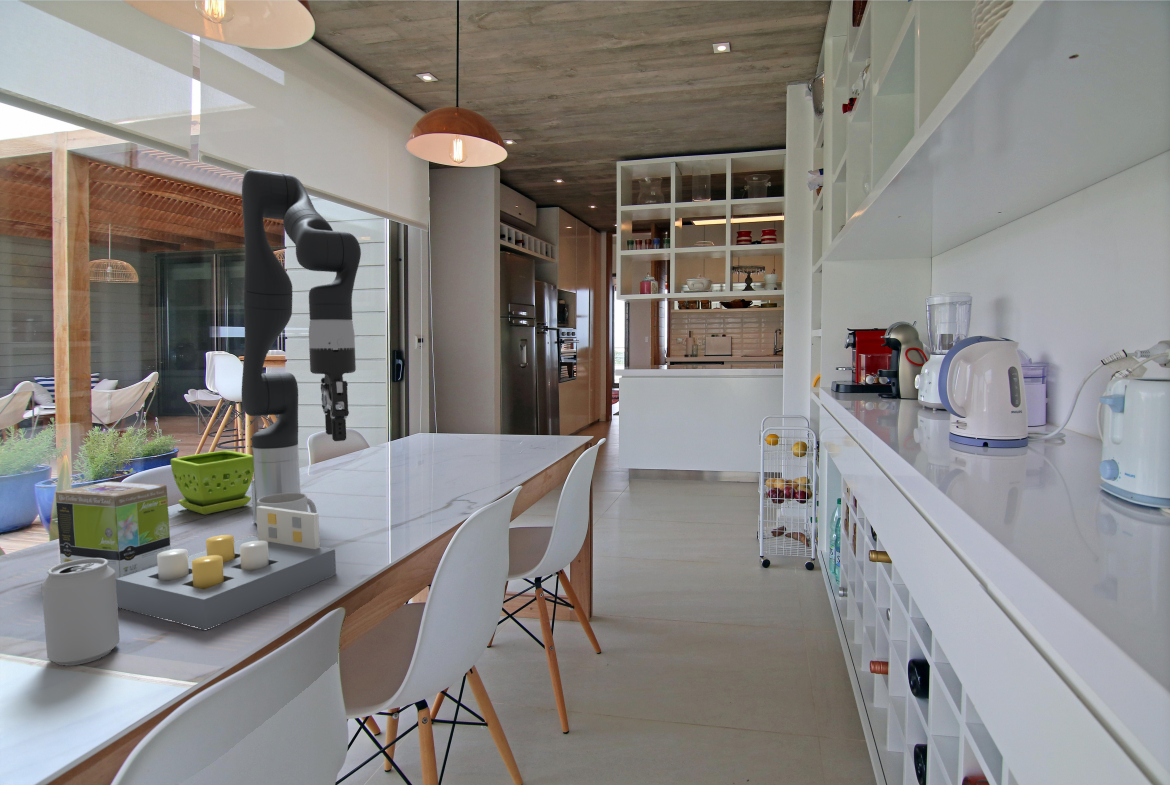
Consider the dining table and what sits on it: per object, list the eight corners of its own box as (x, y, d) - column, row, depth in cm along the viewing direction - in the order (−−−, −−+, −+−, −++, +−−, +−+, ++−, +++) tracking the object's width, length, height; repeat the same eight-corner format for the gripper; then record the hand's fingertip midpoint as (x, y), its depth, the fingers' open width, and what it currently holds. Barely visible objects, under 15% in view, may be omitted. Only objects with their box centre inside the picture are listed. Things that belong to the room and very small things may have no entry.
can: (74, 642, 89) (67, 555, 88) (132, 640, 90) (126, 553, 89) (32, 670, 82) (24, 575, 81) (96, 667, 82) (89, 573, 81)
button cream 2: (235, 577, 105) (234, 546, 105) (257, 568, 109) (255, 539, 109) (253, 580, 104) (251, 549, 103) (274, 572, 107) (273, 542, 107)
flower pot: (171, 510, 159) (168, 458, 158) (230, 498, 170) (227, 449, 169) (200, 518, 151) (196, 463, 150) (259, 505, 162) (256, 454, 161)
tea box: (174, 563, 121) (169, 483, 120) (119, 582, 111) (113, 496, 110) (115, 555, 126) (110, 478, 124) (58, 573, 116) (52, 490, 115)
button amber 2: (187, 594, 98) (185, 562, 98) (212, 585, 102) (210, 553, 101) (205, 599, 96) (203, 565, 96) (230, 589, 100) (228, 557, 100)
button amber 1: (202, 570, 109) (200, 540, 108) (224, 562, 112) (222, 533, 112) (218, 573, 107) (217, 543, 107) (240, 565, 111) (239, 536, 110)
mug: (260, 558, 123) (257, 505, 122) (258, 544, 131) (256, 495, 130) (322, 549, 128) (320, 498, 127) (317, 536, 136) (315, 488, 135)
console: (117, 607, 101) (113, 540, 100) (254, 559, 122) (251, 503, 121) (205, 630, 92) (201, 557, 91) (336, 574, 114) (333, 514, 113)
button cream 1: (153, 586, 101) (151, 555, 101) (178, 578, 105) (176, 547, 105) (170, 590, 100) (168, 558, 99) (195, 581, 103) (193, 550, 103)
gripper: (305, 345, 121) (308, 433, 122) (314, 346, 108) (318, 444, 110) (348, 345, 124) (351, 430, 126) (361, 346, 112) (365, 441, 113)
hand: (335, 437), depth 118 cm, fingers open, 8 cm apart
